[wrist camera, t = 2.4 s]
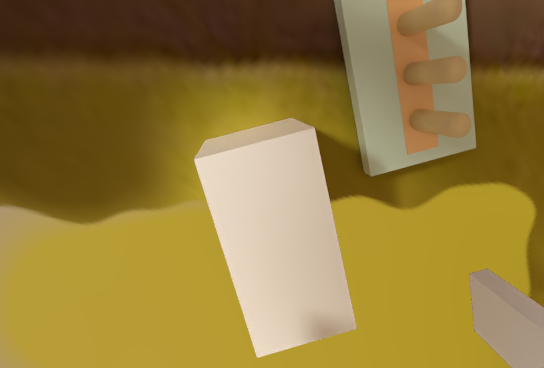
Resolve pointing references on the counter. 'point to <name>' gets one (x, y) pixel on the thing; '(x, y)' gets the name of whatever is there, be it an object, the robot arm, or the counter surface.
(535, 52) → the counter surface
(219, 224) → the white rectangular block
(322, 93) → the counter surface
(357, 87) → the header block
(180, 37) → the counter surface
